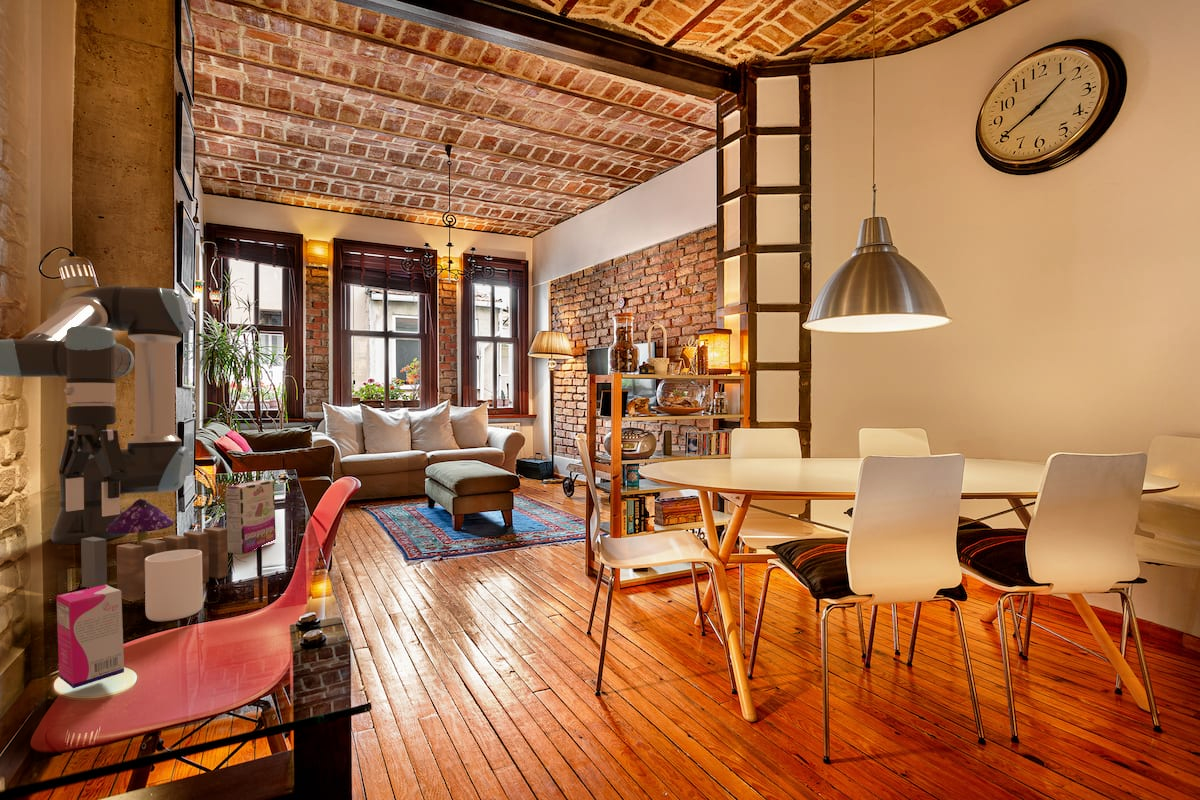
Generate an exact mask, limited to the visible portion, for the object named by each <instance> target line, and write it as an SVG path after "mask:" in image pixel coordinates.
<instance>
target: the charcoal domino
mask: <svg viewBox="0 0 1200 800" xmlns="http://www.w3.org/2000/svg"><path fill="white" fill-rule="evenodd" d="M80 547H81V548H80V553H81V556H80V557H81V558H80V559H81V588H85V587H86V588H85V589H88V588H93V587H98V586H102V585H108V567H107V566H108V560H107V559H108V557H107V540H106V539H102V538H97V537H89V538H83V539H81V543H80Z"/></svg>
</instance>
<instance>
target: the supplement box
mask: <svg viewBox="0 0 1200 800" xmlns="http://www.w3.org/2000/svg"><path fill="white" fill-rule="evenodd" d="M122 603H123V600H122V599H121V590H118V589H117V588H115V587H112V586H110V585H108V584H107V585H102V586H98V587H93V588H89V589H88V588H85V589H80V590H76V591H72V592H67V593H63V594H57V595H56V621H57V622H56V624H57V625H56V626H57V630H56V631H57V648H58V649H57V650H58V651H57V655H58V677H59V678H60V679H61V680H62V681H63V682H65V683H66V684H68V686H69V687H71V688H72V689H76V688H80V687H82V686H85V685H88V684H89V685H90V684H92V683H94V682H97V681H101V680H103V679H107V678H111V677H113V676H117V675H120V674H123V673H124V672H125V662H124V661H125V660H124V655H125V654H124V653H125V652H124V651H125V650H124V628H123V605H122Z"/></svg>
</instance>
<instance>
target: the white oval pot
mask: <svg viewBox="0 0 1200 800" xmlns="http://www.w3.org/2000/svg"><path fill="white" fill-rule="evenodd" d="M203 586H204V585H203V583H202V551H200V550H194V549H185V550H174V551H167V552H162V553H157V554H154V555H151V556H148V557H146V558H145V593H144V600H145V601H144V602H145V603H144V605H145V607H144V608H145V609H144V610H145V611H144V612H145V616H146V618H147V619H148V620H149V621H150V622H151V621H152V622H169V621H175V620H180V619H184V618H189V617H191V616H194V615H195V614H198V613H199V612H200V611H201V610H202V608H203V604H204V603H203V600H204V599H203V595H204V594H203Z"/></svg>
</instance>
